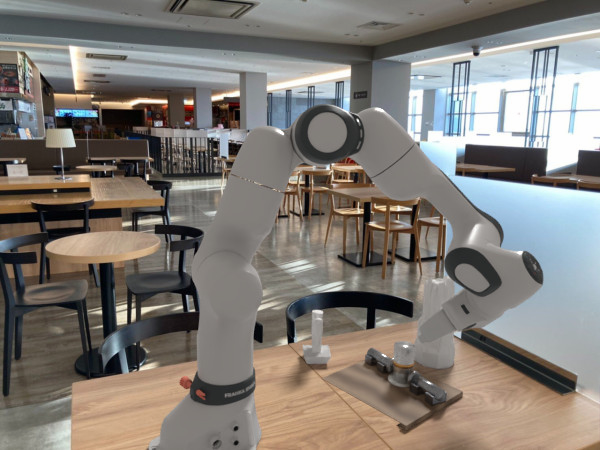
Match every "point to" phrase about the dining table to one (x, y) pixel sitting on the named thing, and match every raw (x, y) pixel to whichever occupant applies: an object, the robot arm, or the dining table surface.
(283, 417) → the dining table surface
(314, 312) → the white peg on base
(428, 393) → the near steel shaft
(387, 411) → the walnut base board
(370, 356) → the far steel shaft
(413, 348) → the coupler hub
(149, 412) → the dining table surface
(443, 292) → the decorative vase
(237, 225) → the robot arm
